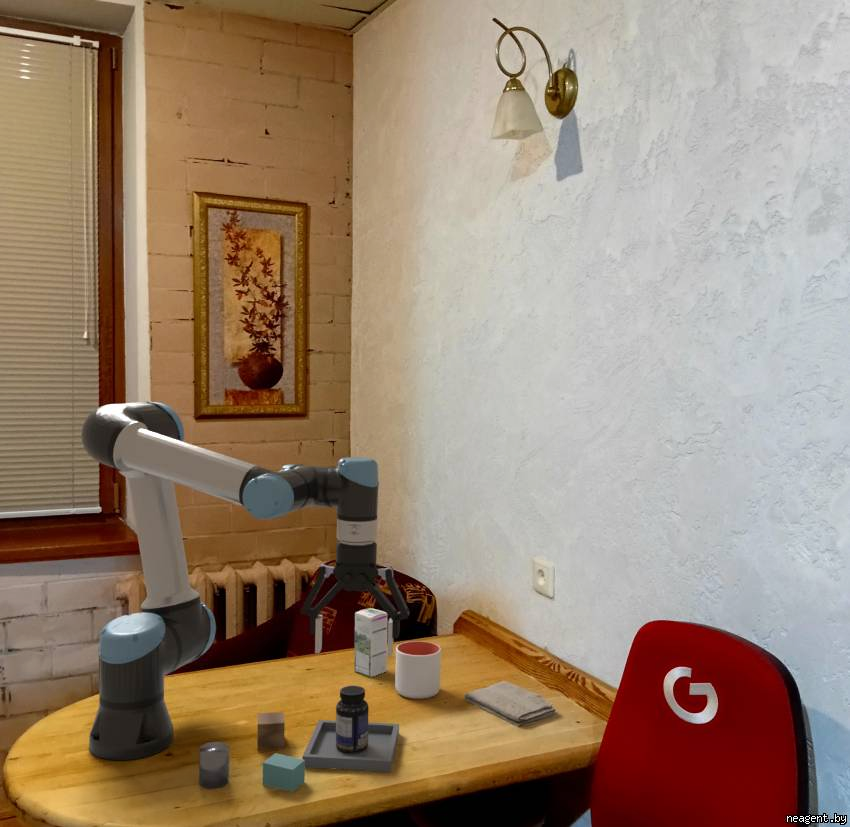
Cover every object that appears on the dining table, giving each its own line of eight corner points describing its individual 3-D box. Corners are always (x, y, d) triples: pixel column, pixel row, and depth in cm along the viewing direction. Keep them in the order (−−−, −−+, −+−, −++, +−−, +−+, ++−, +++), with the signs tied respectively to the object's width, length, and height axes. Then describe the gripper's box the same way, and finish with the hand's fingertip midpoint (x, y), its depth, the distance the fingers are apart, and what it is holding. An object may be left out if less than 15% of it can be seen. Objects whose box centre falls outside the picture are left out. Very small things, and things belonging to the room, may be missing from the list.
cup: (435, 703, 186) (436, 657, 186) (390, 698, 188) (391, 653, 188) (443, 686, 196) (444, 643, 195) (400, 682, 198) (401, 639, 197)
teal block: (262, 785, 149) (262, 762, 149) (275, 775, 153) (275, 753, 152) (292, 792, 147) (292, 769, 146) (304, 782, 150) (304, 760, 150)
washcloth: (520, 731, 174) (520, 716, 174) (461, 702, 188) (461, 688, 188) (560, 717, 182) (560, 702, 182) (500, 690, 196) (500, 677, 195)
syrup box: (387, 671, 204) (389, 611, 203) (370, 678, 200) (371, 616, 199) (370, 665, 208) (371, 606, 207) (352, 672, 204) (354, 611, 203)
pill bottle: (363, 738, 167) (364, 682, 166) (371, 752, 161) (372, 694, 160) (332, 742, 165) (333, 685, 164) (339, 756, 159) (340, 697, 158)
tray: (302, 767, 155) (302, 756, 155) (318, 729, 171) (319, 719, 171) (390, 772, 154) (390, 761, 154) (399, 733, 170) (399, 723, 170)
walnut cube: (257, 750, 162) (257, 724, 162) (257, 738, 167) (257, 713, 167) (284, 748, 163) (284, 722, 163) (283, 737, 168) (283, 712, 168)
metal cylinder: (195, 788, 147) (195, 754, 147) (204, 774, 152) (204, 741, 152) (223, 789, 147) (224, 755, 146) (232, 775, 152) (232, 742, 151)
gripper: (286, 542, 158) (284, 656, 159) (422, 548, 156) (418, 662, 157) (294, 534, 165) (293, 643, 166) (424, 539, 163) (421, 649, 165)
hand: (354, 652), depth 162 cm, fingers open, 13 cm apart
